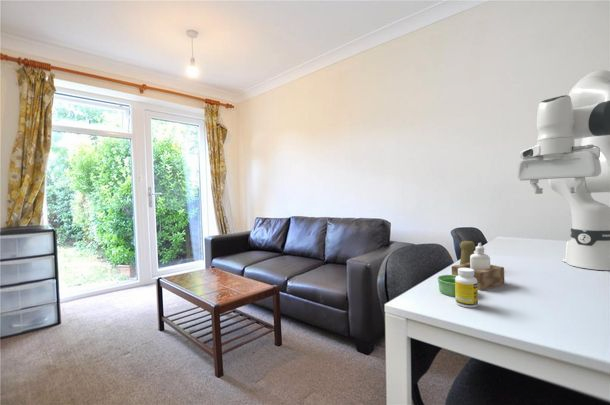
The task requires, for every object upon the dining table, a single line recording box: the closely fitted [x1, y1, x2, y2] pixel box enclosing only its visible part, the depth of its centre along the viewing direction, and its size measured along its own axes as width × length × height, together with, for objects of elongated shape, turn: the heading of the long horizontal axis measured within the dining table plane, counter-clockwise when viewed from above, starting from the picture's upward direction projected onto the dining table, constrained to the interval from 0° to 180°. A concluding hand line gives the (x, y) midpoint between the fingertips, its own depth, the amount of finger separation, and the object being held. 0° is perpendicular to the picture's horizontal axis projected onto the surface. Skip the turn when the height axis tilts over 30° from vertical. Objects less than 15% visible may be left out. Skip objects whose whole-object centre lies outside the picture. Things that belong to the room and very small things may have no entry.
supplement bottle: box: [454, 268, 479, 309], centre depth 79 cm, size 5×5×10 cm
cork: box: [459, 240, 476, 265], centre depth 113 cm, size 6×6×11 cm
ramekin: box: [437, 274, 458, 298], centre depth 88 cm, size 9×9×4 cm
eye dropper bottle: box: [470, 242, 491, 271], centre depth 95 cm, size 4×6×12 cm
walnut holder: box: [451, 263, 505, 292], centre depth 96 cm, size 12×10×6 cm
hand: (555, 193), depth 89 cm, fingers open, 8 cm apart
